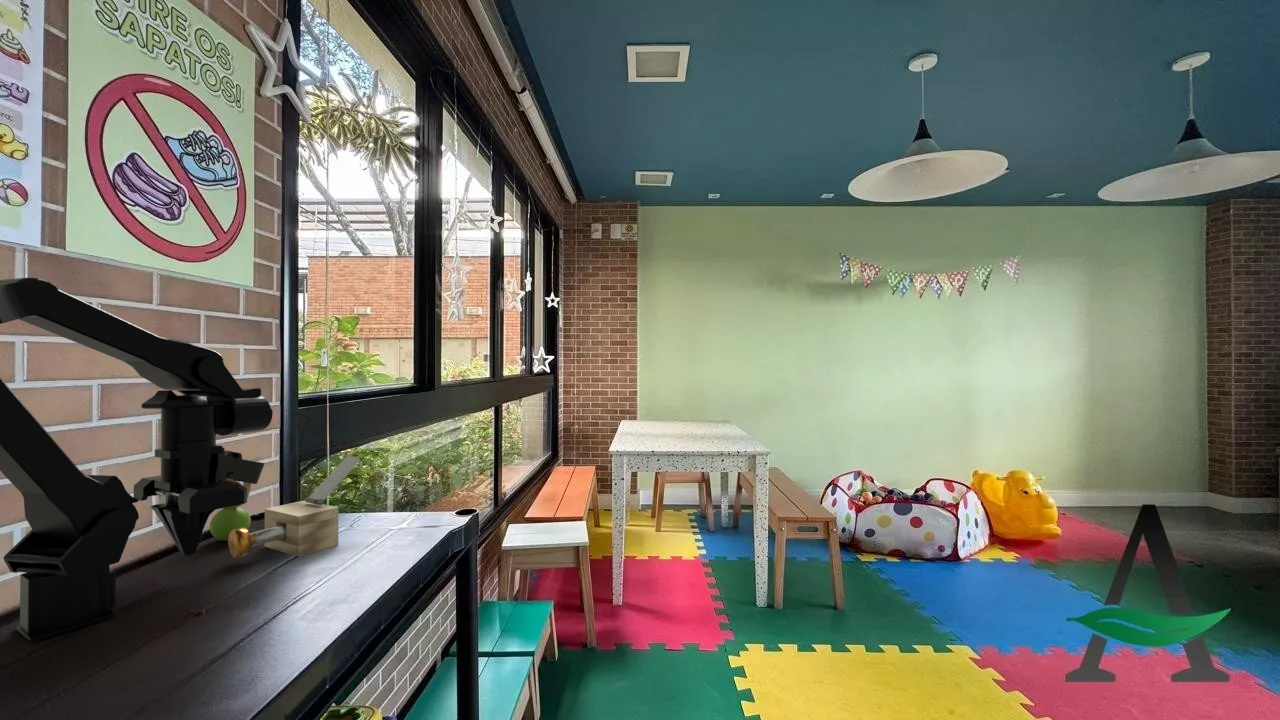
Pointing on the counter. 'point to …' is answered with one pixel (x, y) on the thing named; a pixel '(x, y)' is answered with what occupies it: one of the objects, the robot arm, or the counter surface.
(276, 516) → the block
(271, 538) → the pin
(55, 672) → the counter surface
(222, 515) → the snail figurine
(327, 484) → the bar
